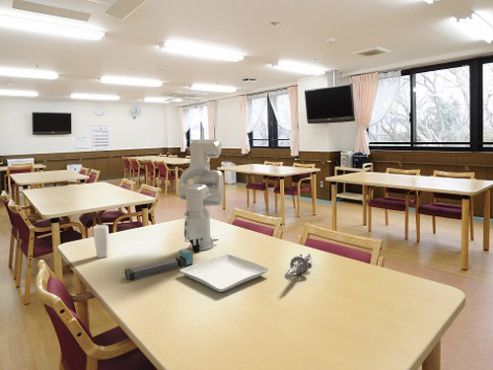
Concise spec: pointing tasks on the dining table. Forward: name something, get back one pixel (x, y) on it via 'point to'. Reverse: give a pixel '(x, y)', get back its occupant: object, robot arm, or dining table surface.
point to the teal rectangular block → (186, 256)
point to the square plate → (224, 272)
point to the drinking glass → (101, 240)
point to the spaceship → (298, 265)
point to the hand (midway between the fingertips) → (196, 252)
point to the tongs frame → (156, 268)
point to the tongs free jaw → (146, 265)
